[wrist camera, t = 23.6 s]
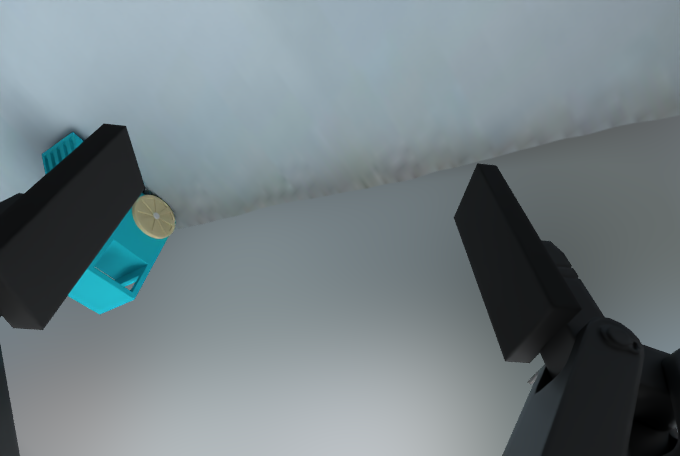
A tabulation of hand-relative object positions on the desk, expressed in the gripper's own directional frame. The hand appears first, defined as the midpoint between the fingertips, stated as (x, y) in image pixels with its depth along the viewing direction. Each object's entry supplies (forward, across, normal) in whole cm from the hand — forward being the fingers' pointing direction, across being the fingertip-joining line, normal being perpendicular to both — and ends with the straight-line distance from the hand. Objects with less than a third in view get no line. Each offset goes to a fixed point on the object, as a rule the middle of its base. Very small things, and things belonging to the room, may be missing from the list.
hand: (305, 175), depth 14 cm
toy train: (+29, -28, -24) cm, 47 cm away
